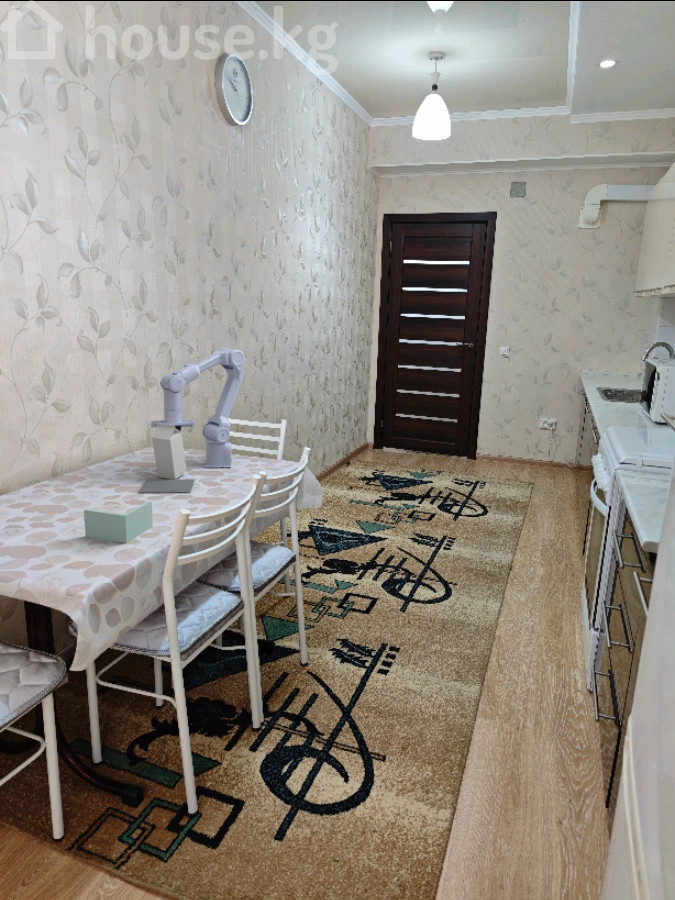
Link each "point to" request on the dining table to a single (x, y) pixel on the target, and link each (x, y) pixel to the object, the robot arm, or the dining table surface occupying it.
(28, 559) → the dining table surface
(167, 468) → the milk carton
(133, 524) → the l-shaped corner panel
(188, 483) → the mat
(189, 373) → the robot arm
